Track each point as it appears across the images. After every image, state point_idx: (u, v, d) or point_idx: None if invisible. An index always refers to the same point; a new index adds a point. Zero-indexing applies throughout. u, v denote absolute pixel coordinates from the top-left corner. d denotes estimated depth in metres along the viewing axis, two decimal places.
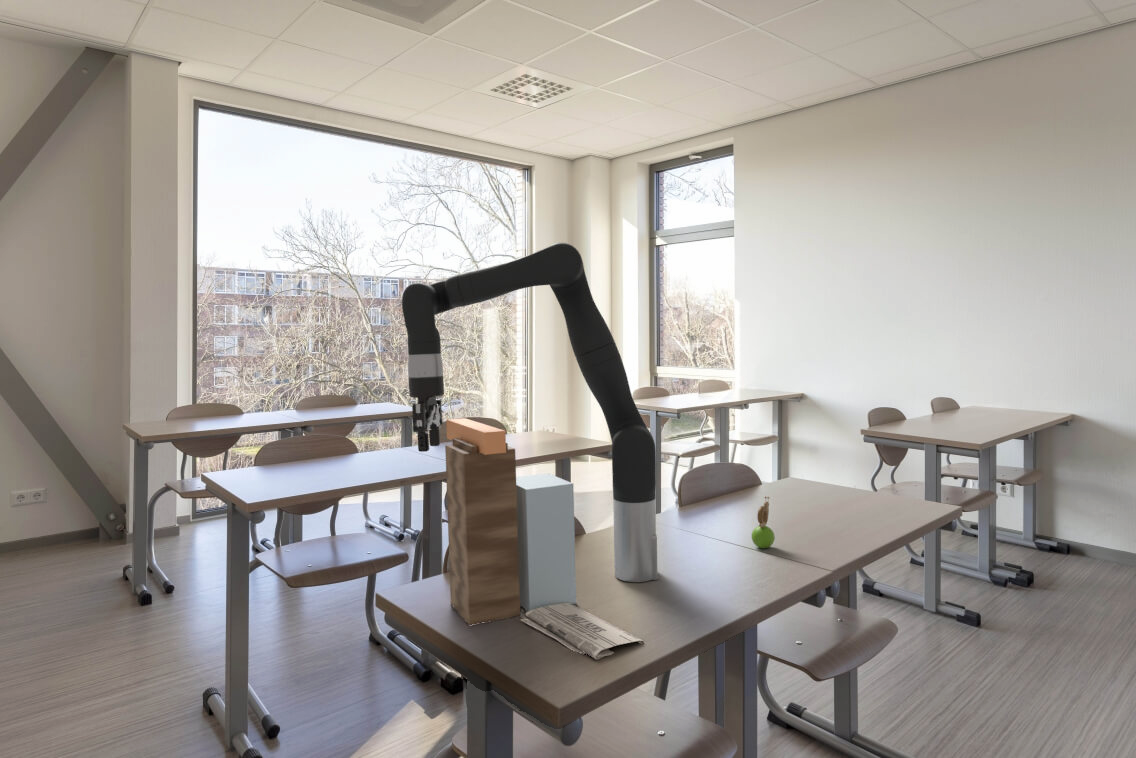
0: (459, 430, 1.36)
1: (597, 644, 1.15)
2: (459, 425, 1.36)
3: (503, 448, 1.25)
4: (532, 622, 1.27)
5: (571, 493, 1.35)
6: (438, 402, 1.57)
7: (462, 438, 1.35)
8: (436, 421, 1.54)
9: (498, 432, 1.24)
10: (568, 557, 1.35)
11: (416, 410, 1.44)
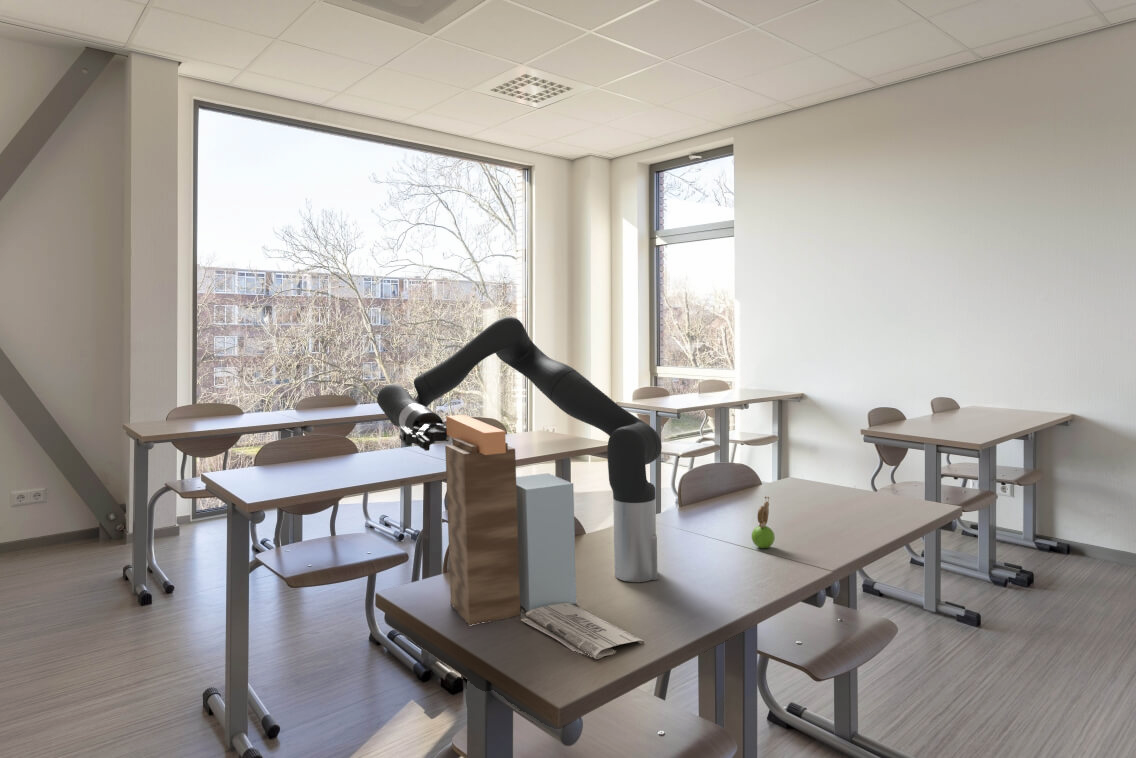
0: (459, 428, 1.36)
1: (597, 644, 1.15)
2: (459, 423, 1.36)
3: (503, 448, 1.25)
4: (532, 622, 1.27)
5: (571, 493, 1.35)
6: None
7: (462, 436, 1.35)
8: None
9: (498, 432, 1.24)
10: (568, 557, 1.35)
11: (400, 434, 1.43)
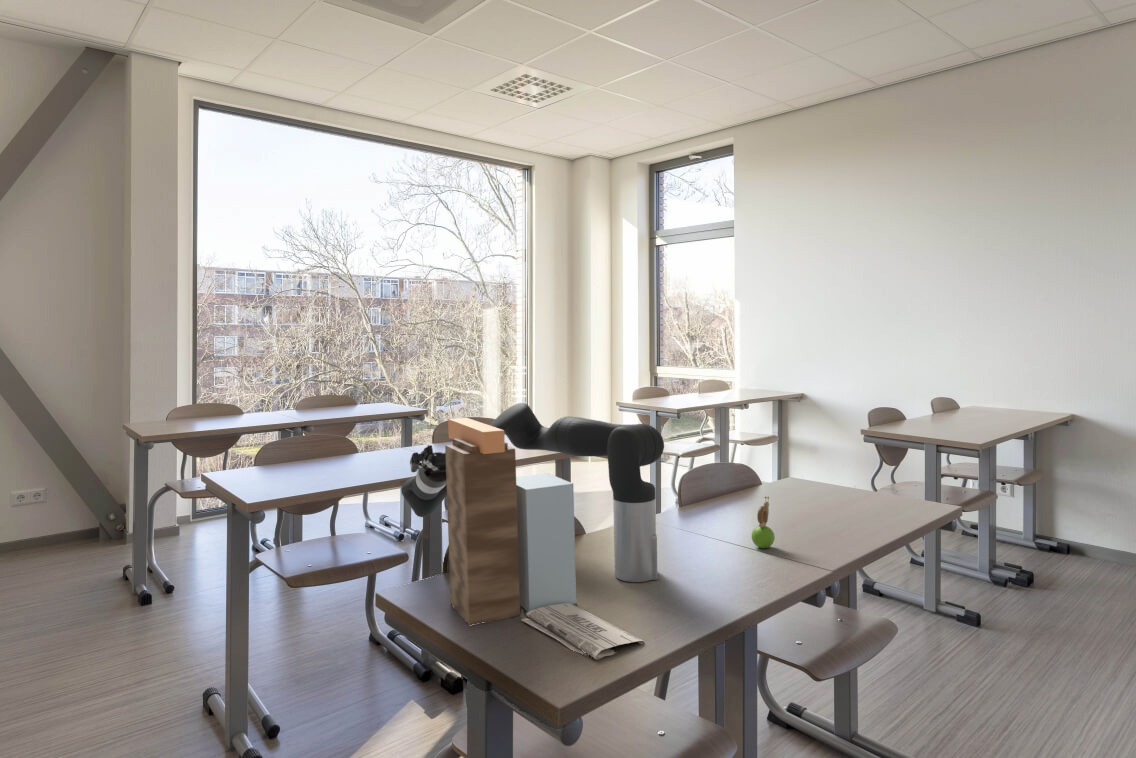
0: (460, 429, 1.37)
1: (597, 644, 1.15)
2: (460, 424, 1.37)
3: (502, 447, 1.25)
4: (533, 622, 1.27)
5: (571, 493, 1.35)
6: None
7: (462, 437, 1.36)
8: None
9: (497, 432, 1.25)
10: (568, 557, 1.35)
11: (411, 466, 1.54)
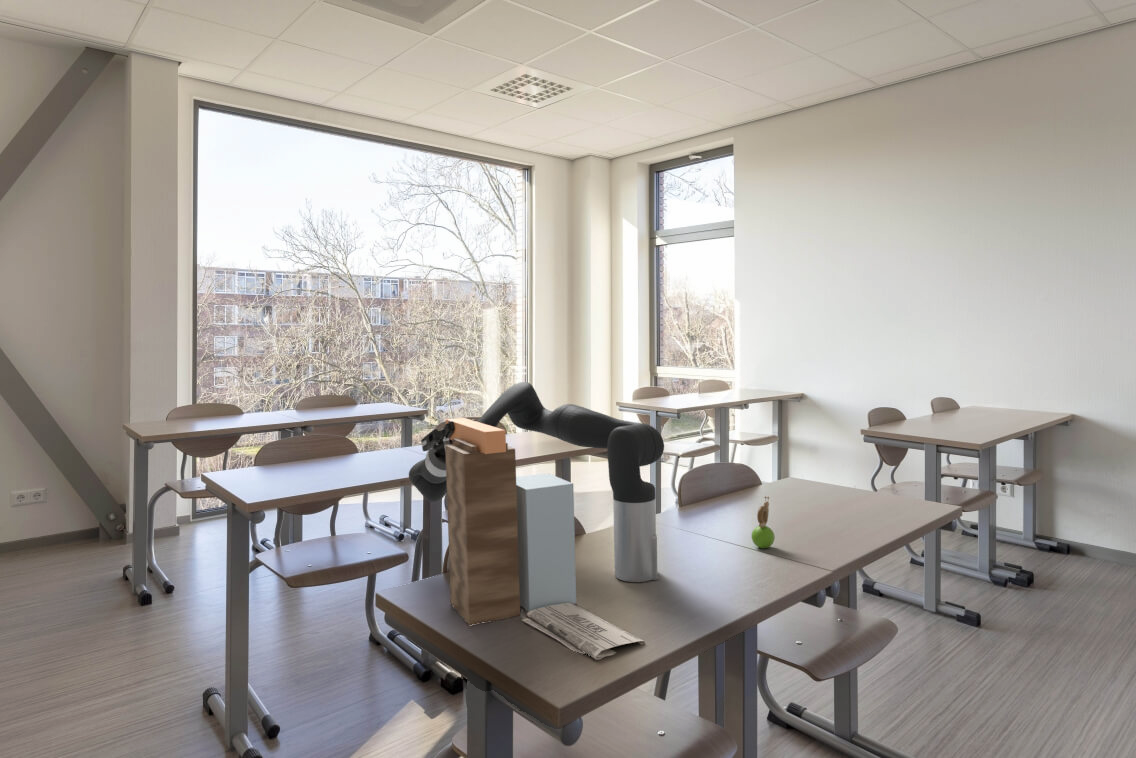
0: (459, 429, 1.37)
1: (598, 644, 1.15)
2: (459, 425, 1.37)
3: (503, 447, 1.26)
4: (533, 622, 1.27)
5: (571, 493, 1.35)
6: None
7: (462, 438, 1.36)
8: None
9: (498, 431, 1.25)
10: (568, 557, 1.35)
11: (424, 444, 1.45)
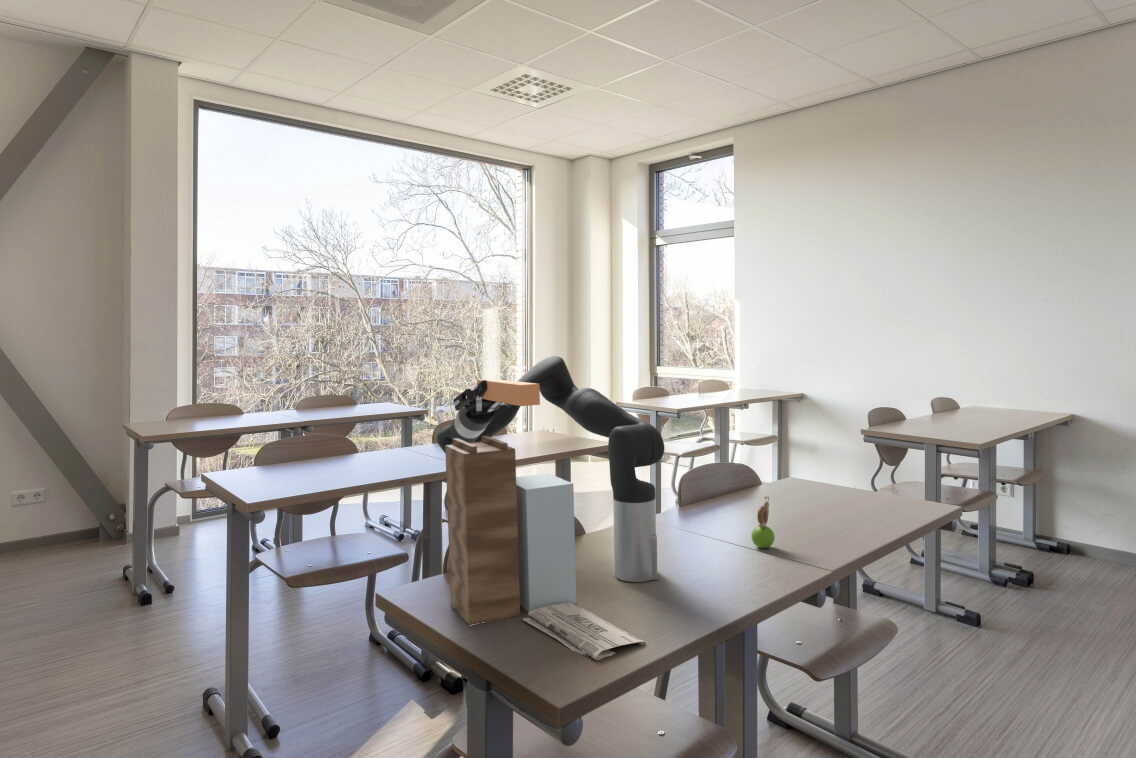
0: (492, 387, 1.42)
1: (598, 645, 1.14)
2: (491, 382, 1.43)
3: (537, 400, 1.31)
4: (534, 622, 1.27)
5: (571, 493, 1.35)
6: None
7: (495, 394, 1.41)
8: None
9: (532, 385, 1.30)
10: (568, 557, 1.35)
11: (456, 404, 1.50)
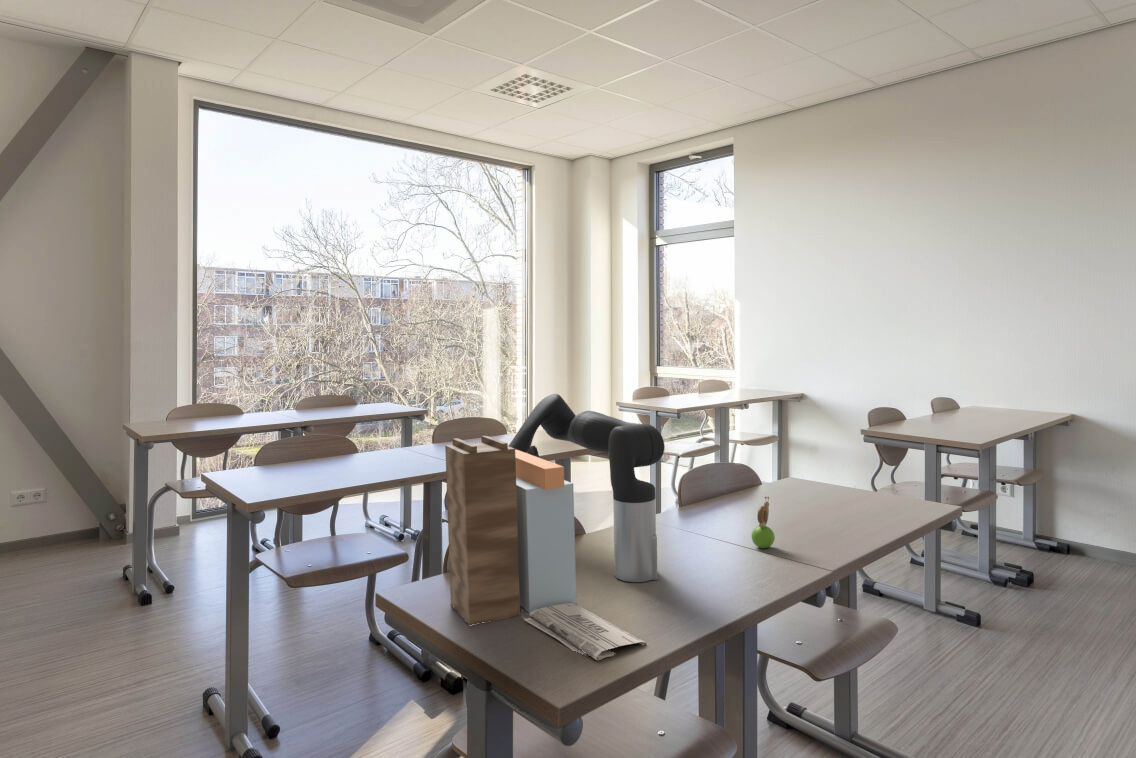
0: None
1: (598, 645, 1.14)
2: None
3: (561, 483, 1.31)
4: (535, 622, 1.27)
5: (571, 493, 1.35)
6: None
7: (518, 471, 1.42)
8: None
9: (557, 468, 1.31)
10: (568, 557, 1.35)
11: None
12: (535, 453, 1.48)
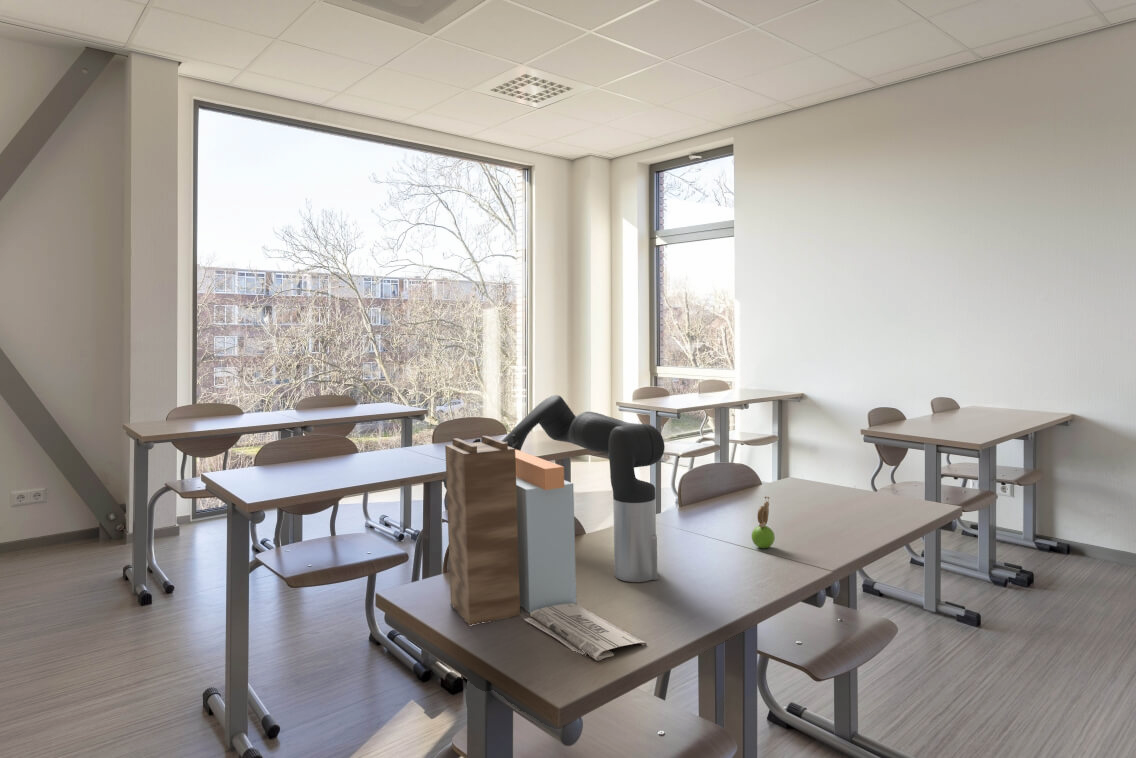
0: None
1: (598, 645, 1.14)
2: None
3: (561, 483, 1.31)
4: (536, 622, 1.27)
5: (571, 493, 1.35)
6: None
7: (518, 471, 1.42)
8: None
9: (557, 468, 1.31)
10: (568, 557, 1.35)
11: None
12: (514, 442, 1.60)
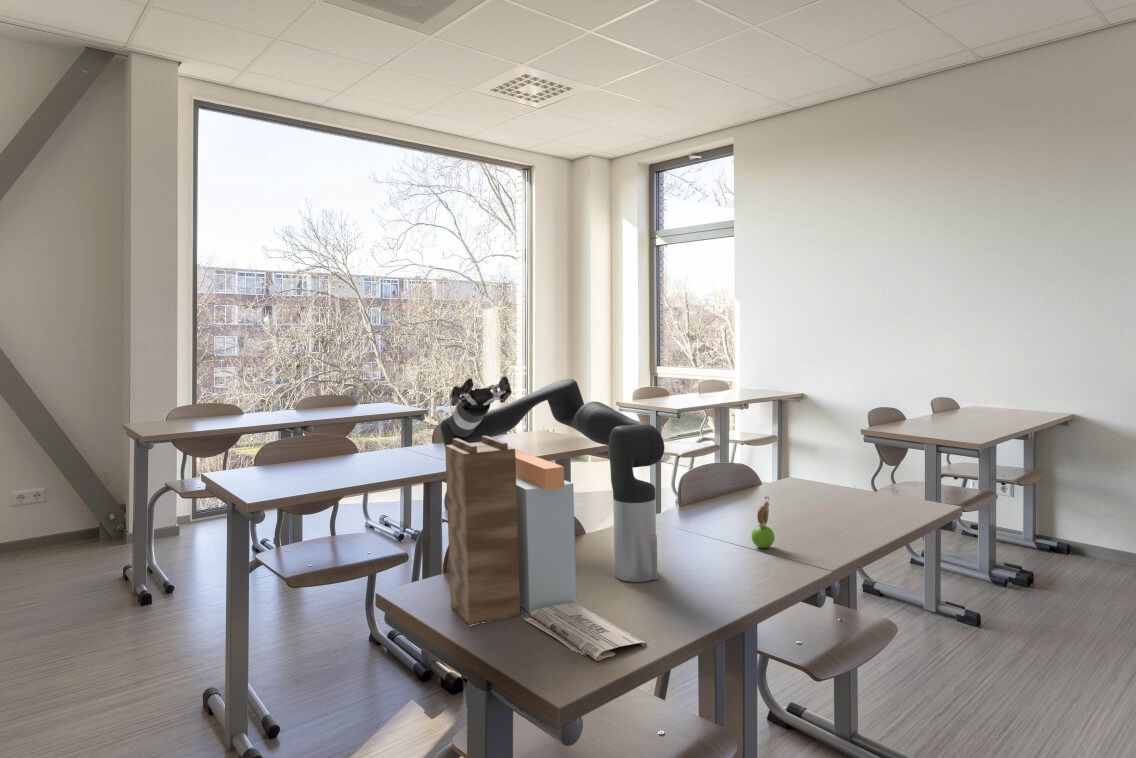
0: None
1: (599, 645, 1.14)
2: None
3: (561, 483, 1.31)
4: (536, 622, 1.27)
5: (571, 493, 1.35)
6: None
7: (518, 471, 1.42)
8: (493, 386, 1.68)
9: (557, 468, 1.31)
10: (568, 557, 1.35)
11: (451, 400, 1.65)
12: (506, 383, 1.63)
